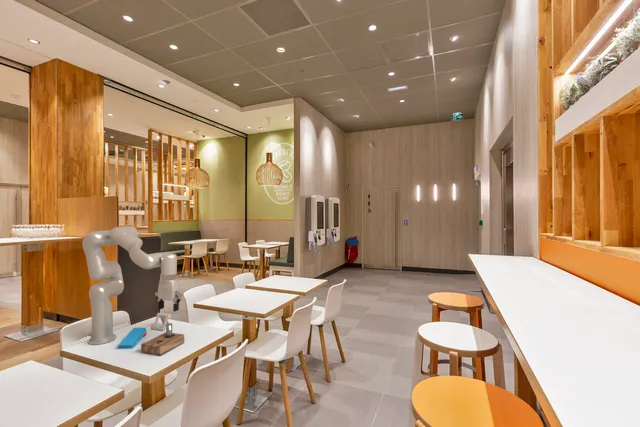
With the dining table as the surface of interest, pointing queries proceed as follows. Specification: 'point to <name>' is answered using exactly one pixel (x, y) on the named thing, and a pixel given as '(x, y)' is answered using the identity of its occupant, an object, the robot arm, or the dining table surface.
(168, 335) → the pin
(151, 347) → the hole block
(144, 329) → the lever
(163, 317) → the portable electronic device stand
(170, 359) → the dining table surface
